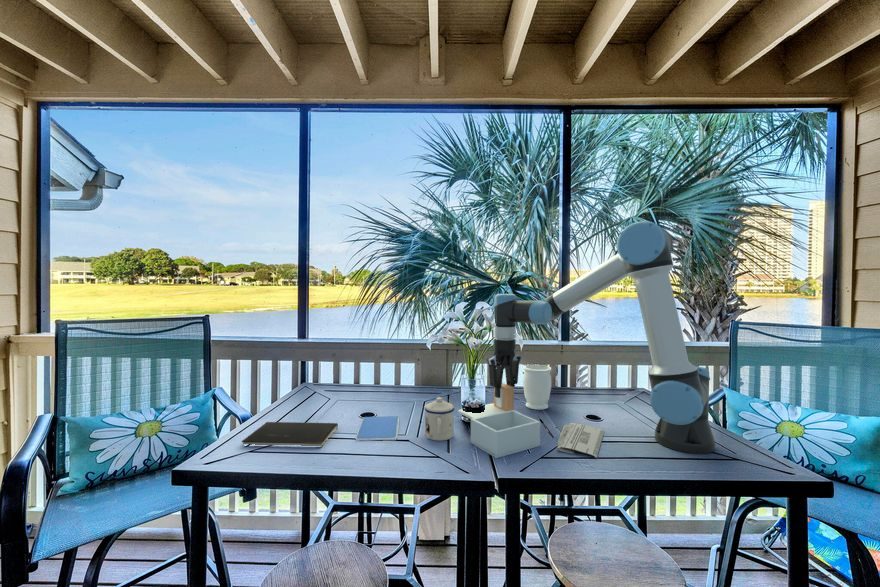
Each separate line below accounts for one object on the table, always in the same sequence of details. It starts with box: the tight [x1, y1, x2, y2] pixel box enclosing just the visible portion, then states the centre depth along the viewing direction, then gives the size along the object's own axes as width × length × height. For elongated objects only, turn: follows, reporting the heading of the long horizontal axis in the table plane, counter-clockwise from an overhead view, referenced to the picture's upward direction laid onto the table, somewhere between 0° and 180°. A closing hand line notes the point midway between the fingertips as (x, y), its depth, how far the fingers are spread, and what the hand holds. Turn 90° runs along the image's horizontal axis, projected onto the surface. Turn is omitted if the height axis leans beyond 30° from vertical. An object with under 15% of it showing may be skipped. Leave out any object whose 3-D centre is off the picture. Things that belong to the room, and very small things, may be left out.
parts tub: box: [470, 410, 541, 459], centre depth 117 cm, size 12×16×7 cm
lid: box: [457, 382, 521, 420], centre depth 137 cm, size 13×17×9 cm
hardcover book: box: [241, 421, 339, 447], centre depth 123 cm, size 16×23×2 cm
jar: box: [522, 364, 552, 411], centre depth 152 cm, size 11×10×15 cm
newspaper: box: [556, 422, 605, 459], centre depth 120 cm, size 23×12×2 cm, turn 153°
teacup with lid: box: [424, 396, 455, 442], centre depth 122 cm, size 12×9×12 cm
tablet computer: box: [354, 415, 400, 441], centre depth 129 cm, size 19×13×1 cm, turn 3°
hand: (503, 405), depth 140 cm, fingers closed on lid, 3 cm apart
